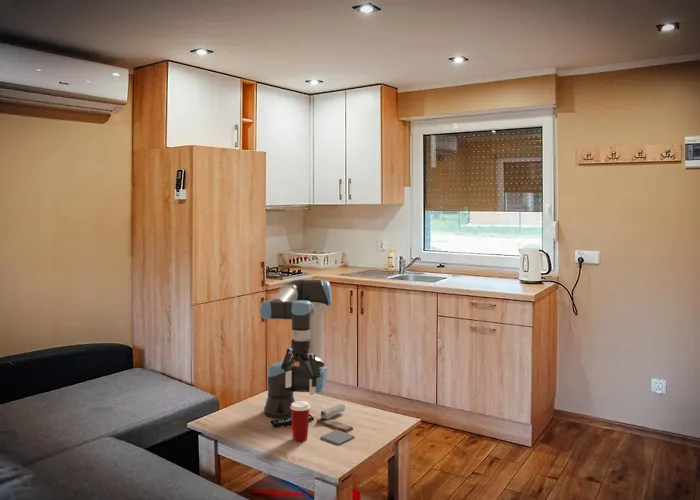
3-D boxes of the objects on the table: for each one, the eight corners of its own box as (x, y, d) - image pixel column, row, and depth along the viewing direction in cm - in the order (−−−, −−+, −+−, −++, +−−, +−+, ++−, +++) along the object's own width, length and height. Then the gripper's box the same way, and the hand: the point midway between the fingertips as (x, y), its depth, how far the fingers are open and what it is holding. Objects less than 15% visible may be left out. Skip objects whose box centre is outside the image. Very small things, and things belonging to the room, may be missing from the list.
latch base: (316, 422, 255) (316, 419, 255) (323, 419, 258) (323, 416, 258) (346, 432, 244) (346, 429, 244) (352, 429, 248) (352, 426, 248)
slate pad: (320, 438, 238) (320, 436, 238) (336, 431, 245) (336, 429, 245) (338, 445, 231) (339, 443, 231) (354, 437, 239) (354, 435, 239)
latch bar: (324, 420, 253) (324, 413, 253) (319, 418, 255) (319, 412, 255) (344, 410, 266) (344, 403, 265) (339, 409, 267) (339, 402, 267)
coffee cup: (314, 439, 237) (314, 403, 236) (299, 445, 231) (299, 409, 230) (300, 433, 243) (300, 398, 241) (285, 439, 237) (285, 403, 235)
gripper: (272, 335, 238) (272, 386, 240) (317, 346, 222) (316, 399, 224) (285, 332, 244) (285, 381, 246) (329, 342, 228) (329, 395, 230)
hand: (300, 390), depth 235 cm, fingers open, 13 cm apart
